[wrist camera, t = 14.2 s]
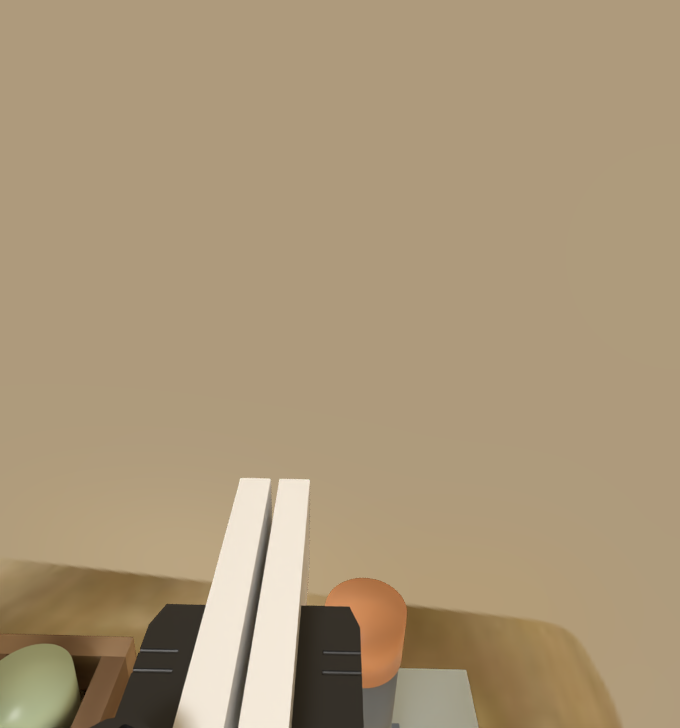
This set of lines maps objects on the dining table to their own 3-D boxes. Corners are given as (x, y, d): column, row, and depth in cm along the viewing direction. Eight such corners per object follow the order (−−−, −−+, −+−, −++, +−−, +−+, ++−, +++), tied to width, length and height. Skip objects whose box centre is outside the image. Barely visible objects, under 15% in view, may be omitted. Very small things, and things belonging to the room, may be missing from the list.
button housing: (-82, 814, 32) (-98, 777, 30) (6, 667, 40) (-4, 633, 39) (85, 818, 32) (76, 781, 30) (138, 670, 40) (133, 637, 39)
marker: (316, 810, 32) (323, 641, 27) (319, 737, 36) (326, 576, 30) (389, 813, 32) (410, 645, 27) (384, 740, 36) (403, 579, 30)
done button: (-31, 756, 33) (-44, 720, 32) (15, 676, 37) (5, 642, 36) (59, 758, 33) (50, 722, 32) (93, 678, 37) (87, 644, 36)
